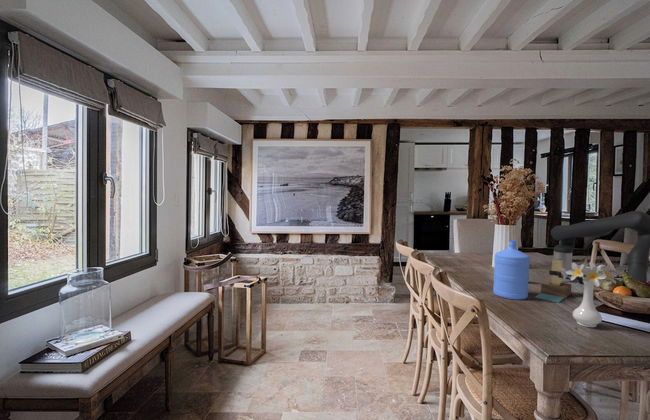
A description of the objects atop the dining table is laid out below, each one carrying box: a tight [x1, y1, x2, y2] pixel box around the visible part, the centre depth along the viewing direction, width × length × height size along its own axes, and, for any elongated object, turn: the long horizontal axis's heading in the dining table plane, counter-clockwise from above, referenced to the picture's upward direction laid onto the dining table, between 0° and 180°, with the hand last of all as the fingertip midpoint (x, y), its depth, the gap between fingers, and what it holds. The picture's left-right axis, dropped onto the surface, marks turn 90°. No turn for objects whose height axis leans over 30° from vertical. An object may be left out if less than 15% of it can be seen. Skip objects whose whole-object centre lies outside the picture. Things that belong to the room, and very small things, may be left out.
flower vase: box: [560, 261, 618, 328], centre depth 136 cm, size 13×18×25 cm
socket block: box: [540, 280, 572, 299], centre depth 179 cm, size 11×11×5 cm
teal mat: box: [535, 292, 565, 304], centre depth 171 cm, size 10×10×1 cm
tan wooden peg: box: [550, 257, 563, 286], centre depth 179 cm, size 4×4×18 cm
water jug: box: [492, 239, 531, 301], centre depth 174 cm, size 16×16×28 cm
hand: (550, 271), depth 181 cm, fingers closed on tan wooden peg, 4 cm apart
